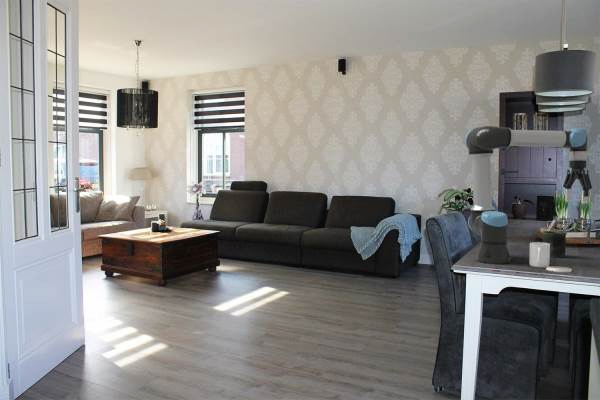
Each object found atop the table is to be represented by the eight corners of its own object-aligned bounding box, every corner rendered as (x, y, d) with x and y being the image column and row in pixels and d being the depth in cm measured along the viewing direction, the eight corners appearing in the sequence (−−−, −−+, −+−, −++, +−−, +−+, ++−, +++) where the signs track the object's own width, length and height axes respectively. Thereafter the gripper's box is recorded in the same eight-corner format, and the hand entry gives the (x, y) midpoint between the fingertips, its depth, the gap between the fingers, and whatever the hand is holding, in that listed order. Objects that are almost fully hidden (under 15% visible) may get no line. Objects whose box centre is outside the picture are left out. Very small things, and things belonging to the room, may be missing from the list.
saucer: (553, 272, 216) (554, 270, 216) (541, 268, 226) (541, 266, 226) (576, 272, 217) (576, 270, 217) (563, 267, 227) (563, 265, 227)
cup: (549, 264, 234) (549, 242, 233) (549, 269, 223) (550, 246, 222) (529, 263, 237) (529, 241, 237) (528, 268, 226) (529, 245, 226)
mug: (564, 258, 249) (565, 234, 249) (532, 255, 258) (532, 232, 257) (567, 255, 258) (568, 232, 257) (536, 252, 267) (537, 230, 266)
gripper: (601, 159, 242) (599, 204, 244) (570, 160, 267) (568, 200, 268) (586, 159, 242) (584, 204, 243) (556, 160, 267) (555, 200, 268)
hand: (576, 202), depth 256 cm, fingers open, 13 cm apart
